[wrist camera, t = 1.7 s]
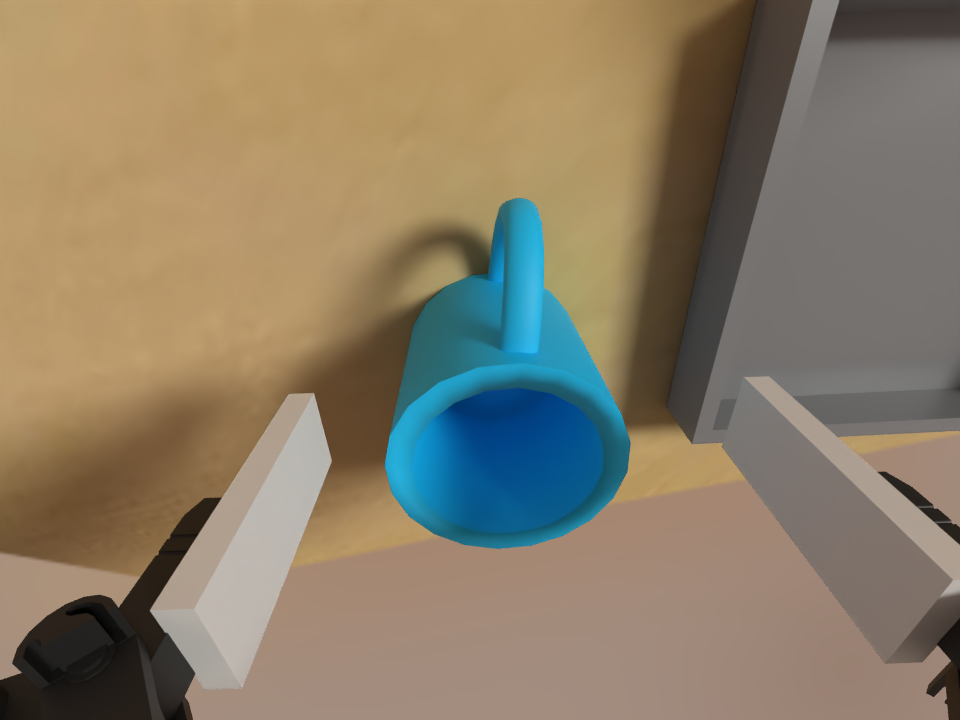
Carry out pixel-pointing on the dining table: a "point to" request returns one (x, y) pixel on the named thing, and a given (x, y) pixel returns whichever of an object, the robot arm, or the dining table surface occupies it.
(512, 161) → the dining table surface
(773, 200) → the tray
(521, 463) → the mug
